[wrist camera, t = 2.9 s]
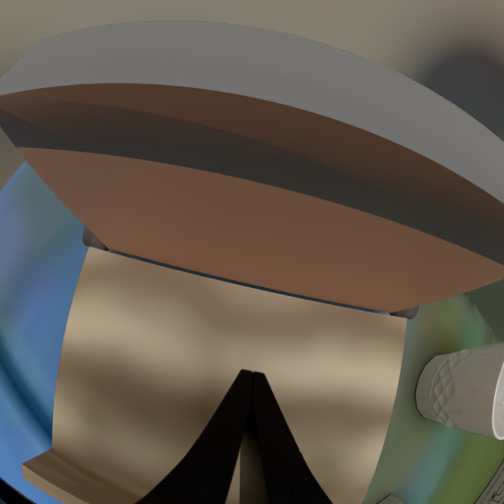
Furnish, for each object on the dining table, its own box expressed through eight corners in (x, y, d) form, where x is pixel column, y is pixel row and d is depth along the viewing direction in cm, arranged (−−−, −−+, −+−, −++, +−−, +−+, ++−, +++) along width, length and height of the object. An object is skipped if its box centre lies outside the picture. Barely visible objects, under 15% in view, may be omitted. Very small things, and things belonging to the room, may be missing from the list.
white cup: (437, 434, 18) (509, 449, 9) (396, 405, 19) (479, 422, 9) (470, 369, 20) (541, 363, 11) (434, 333, 21) (515, 317, 12)
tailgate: (391, 312, 17) (563, 253, 4) (108, 248, 16) (-18, 99, 4) (393, 271, 18) (544, 182, 5) (124, 207, 17) (41, 38, 5)
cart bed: (338, 493, 16) (385, 538, 8) (74, 442, 15) (18, 474, 7) (380, 306, 22) (449, 284, 14) (114, 245, 21) (67, 194, 12)
